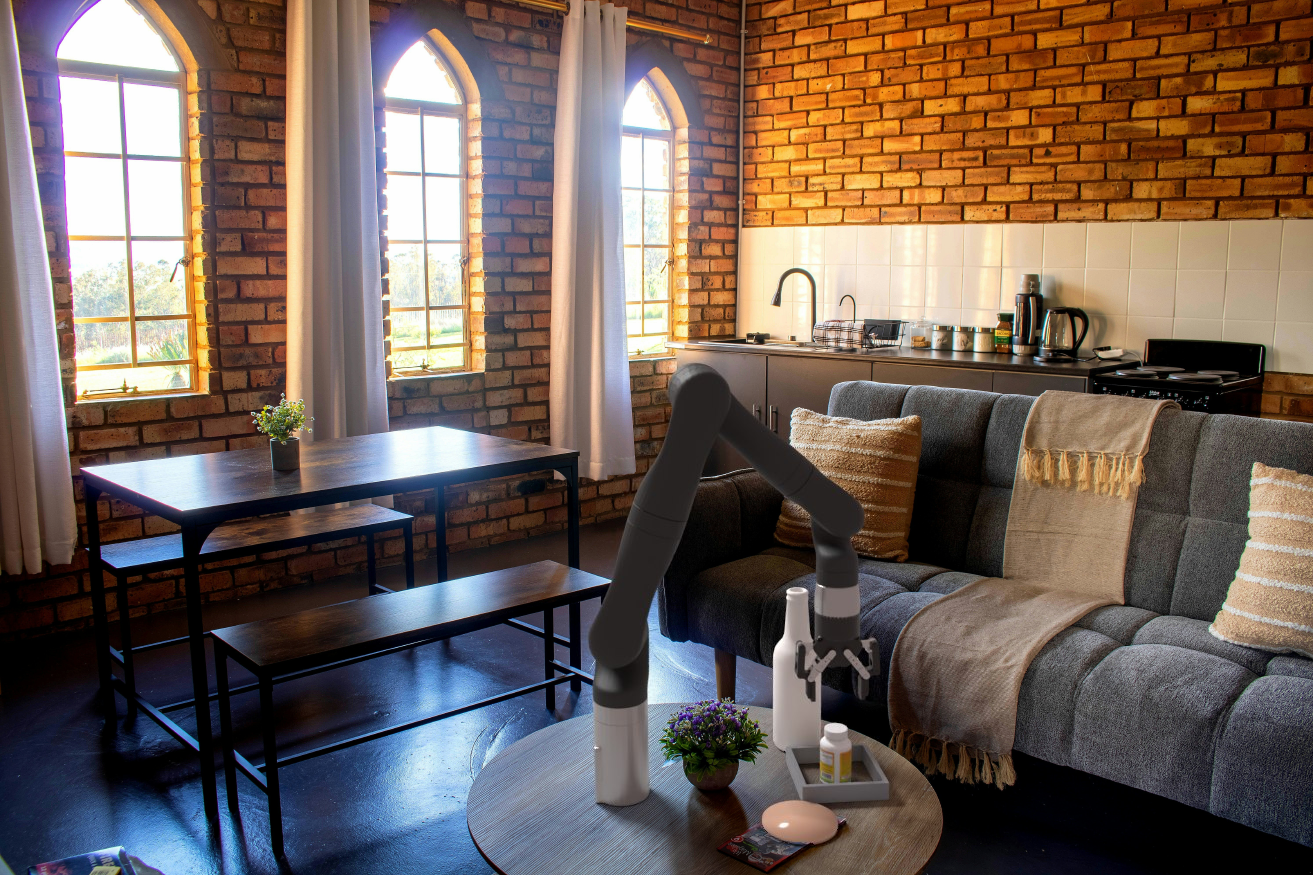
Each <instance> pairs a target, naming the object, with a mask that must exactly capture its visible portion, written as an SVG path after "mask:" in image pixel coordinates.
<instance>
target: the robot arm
mask: <svg viewBox="0 0 1313 875" xmlns="http://www.w3.org/2000/svg"><path fill="white" fill-rule="evenodd" d="M730 388H731V387H730V386H729V384H728V381H727V380H726V378H724V377H723V376H722V374H721V373H719V371H718V370H716V369H715V368H713V367H712V366H710V365H708V364H706V363H705V364H704V363H701V362H690V363H686V364H684V365H682V366H680V367H678V368H677V369H676V370H675V371H673V373H672V374H671V376H670V379H669V381H668V386H667V396H668V400H669V402H670V405H671V408H672V409H671V413H670V418H669V419H670V420H669V423H668V427H667V429H666V435H665V438H664V441H663V443H662V447H661V449H660V451H659V453H658V455H657V457H656V458H655V460H654V462H653V463H652V464H651V466H650V467H649V469H648V471H647V473H646V474H645V476H644V477H643V479H642V481H641V483H640V485H639V487H638V489H637V491H636V493H635V496H634V499H633V501H632V505H631V507H630V510H629V513H628V516H627V518H626V519H627V520H626V523H625V525H624V530H623V533H622V537H621V541H620V545H619V548H618V553H617V556H616V562H615V566H614V570H613V574H612V579H611V581H610V584H609V587H608V589H607V592H606V594H605V597H604V599H603V600H602V601H603V602H602V603H601V606H600V608H599V609H598V612H597V614H596V615H595V618H594V619H593V621H592V623H591V625H590V627H589V629H588V633H587V643H588V649H589V652H590V654H591V655H592V657H593V659H594V661H595V666H594V673H593V674H594V675H593V681H592V707H593V708H592V709H593V710H592V711H593V755H594V756H593V757H594V758H593V759H594V760H593V761H594V792H595V794H594V795H595V803H603V804H606V805H609V806H614V807H615V806H617V807H627V806H632V805H636V804H638V803H641V802H643V801H644V800H646V799H647V798H648V796H649V795H650V792H651V791H650V753H649V752H650V751H649V749H650V747H649V743H650V742H649V738H650V737H649V702H648V701H649V698H648V696H649V694H648V693H649V692H648V691H649V690H648V688H649V680H650V679H649V678H650V677H649V676H650V628H649V622H648V619H649V614H650V610H651V607H652V604H653V600H654V598H655V595H656V593H657V590H658V588H659V586H660V584H661V582H662V580H663V578H664V576H665V574H666V573H667V571H668V569H669V566H670V565H671V562H672V560H673V558H674V555H675V553H676V552H677V549H678V546H679V545H680V542H681V539H682V536H683V535H684V530H685V528H686V525H687V522H688V519H689V517H690V513H691V510H692V506H693V504H694V500H695V497H696V494H697V491H698V488H699V484H700V481H701V477H702V474H703V470H704V466H705V464H706V462H707V458H708V456H709V454H710V451H711V449H712V447H713V445H714V443H715V441H716V439H717V436H719V437H720V439H723V441H725V442H726V443H727V444H728V445H729V446H731V447H732V448H733V449H734V451H736V452H737V453H738V454H739V455H740V456H741V457H742V458H743V459H744V460H745V461H746V463H748V464H749V465H750V466H751V467H752V469H754V471H756V472H757V473H758V474H759V475H760V476H761V477H762V479H764V480H765V481H767V483H769V484H770V485H771V486H772V487H774V488H775V490H776V491H778V492H779V493H780V494H782V495H783V496H784V497H785V498H787V499H788V500H789V501H791V502H792V503H794V504H796V505H797V506H799V507H801V508H802V509H803V510H804V511H805V512H806V513H807V514H808V515H810V516H809V520H810V529H811V533H812V541H813V545H814V546H813V547H814V550H815V555H816V558H815V559H816V560H815V561H816V562H815V565H816V566H815V581H816V582H815V589H814V601H813V607H814V639H813V642H812V643H803V642H802V641H801V640H798V641H797V642H796V652H795V669H794V671H795V673H796V675H797V677H798V678H799V679H805V687H806V688H805V689H806V690H805V693H806V695H807V697H808V699H810V701H811V702H816V682H815V679H816V677H817V676H818V675H819V673H821V674H822V672H824V671H825V669H826V668H827V667H829V668H832V669H833V668H837V667H840V668H841V667H842V668H848V667H849V666H850V665H852V666H853V667H854V668H855V670H856V671H857V672H858V673H859V674H858V675H857V695H858V698H859V700H861V701H862V700H866V697H868V695H869V694H870V693H869V691H870V690H869V689H870V688H869V687H870V684H869V682H870V678H871V677H872V676H880V674H881V662H880V661H881V660H880V659H881V658H880V644H879V642H878V640H877V639H876V638H875V637H873V636H871V637H868V639H861V636H860V634H861V616H860V615H861V597H860V596H861V595H860V594H861V593H860V587H859V557H858V553H857V551H856V550H855V548H854V547H853V544H852V541H851V540H852V539H851V538H852V537H854V536H856V535H857V534H858V533H859V532H860V531H861V530H862V529H863V527H864V525H865V521H866V515H865V511H864V508H863V506H862V504H861V503H860V501H859V500H857V498H855V497H854V496H853V495H852V494H850V493H849V492H848V491H847V490H845V489H844V488H843V487H841V486H840V485H839V484H838V483H835V481H833V480H832V479H830V478H829V477H827V476H826V475H825V474H824V473H823V472H821V471H820V469H819V468H817V466H816V465H815V464H814V463H813V462H811V461H810V460H809V459H808V458H807V457H806V456H804V455H803V453H801V452H800V451H799V450H797V449H796V448H795V446H793V445H791V444H790V443H789V442H787V440H785V439H784V438H782V436H780V435H778V434H777V433H776V432H775V431H774V430H772V429H771V428H770V427H769V426H767V425H766V424H765V423H764V422H762V421H761V420H759V418H757V417H756V416H755V415H754V414H752V413H751V412H750V410H748V409H747V407H745V406H744V405H743V404H742V403H741V402H740V401H739V399H737V397H736V396H735V395H734V394H733V393H732V391H731V389H730ZM862 649H865V651H866V652H867V653H868V664H869V665H868V666H864V665H863V663H862V662H861V660H859V658H858V657H857V656H858V655H859V654H860V652H861V651H862ZM811 650H814V652H815V653H816V654H817V655H816V656H815V658H814V659H813V660H812V662H811V665H810V666H809V667H808V669H807V670H805V656H808V655H809V652H810V651H811Z"/></svg>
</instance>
